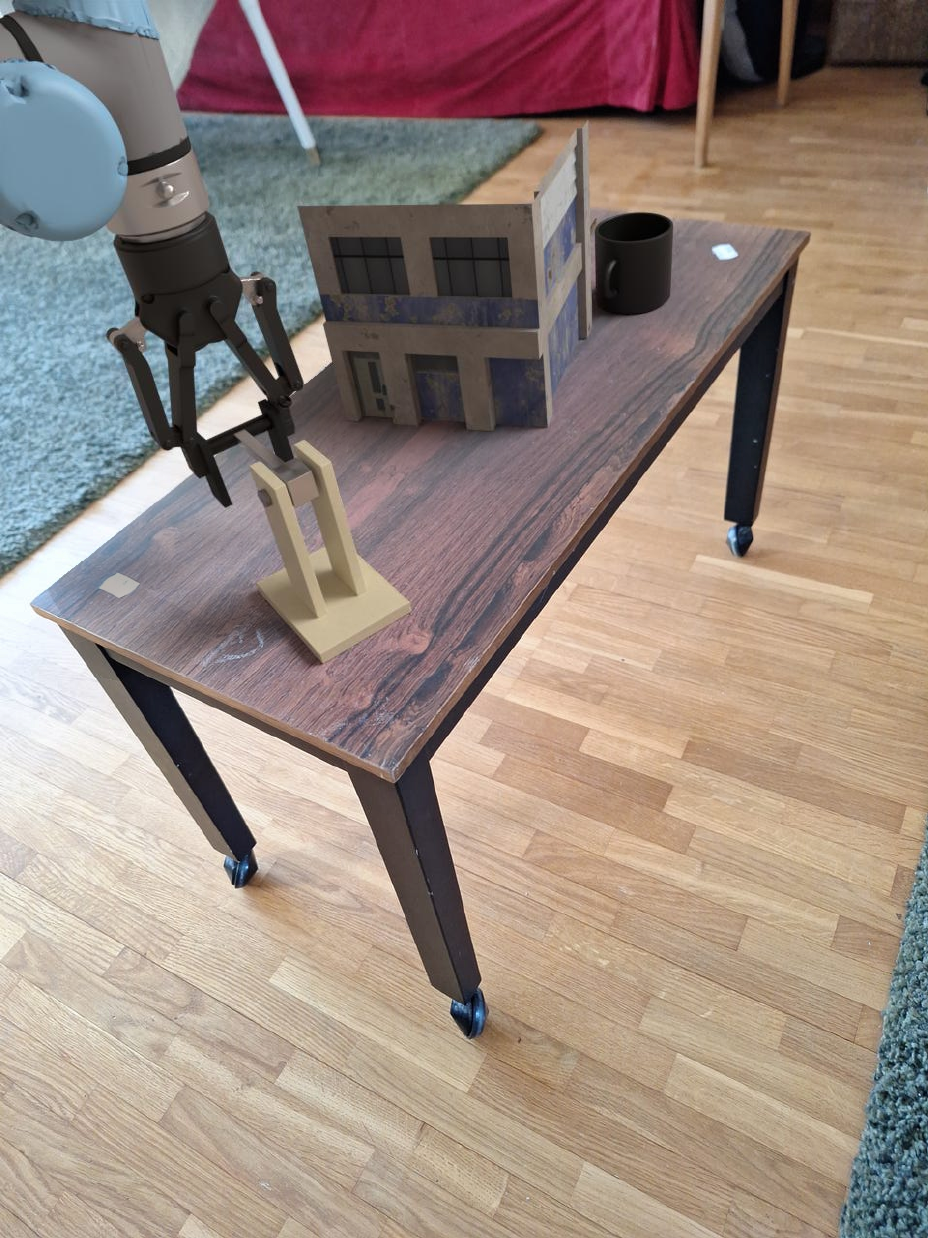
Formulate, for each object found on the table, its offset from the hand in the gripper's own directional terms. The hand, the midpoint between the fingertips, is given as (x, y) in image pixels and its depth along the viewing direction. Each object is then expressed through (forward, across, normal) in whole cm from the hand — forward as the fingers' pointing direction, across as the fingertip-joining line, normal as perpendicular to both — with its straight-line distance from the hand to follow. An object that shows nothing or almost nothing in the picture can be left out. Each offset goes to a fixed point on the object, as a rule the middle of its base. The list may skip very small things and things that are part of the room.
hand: (255, 482), depth 78 cm
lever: (-4, 0, -6) cm, 7 cm away
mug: (+8, +57, +11) cm, 59 cm away
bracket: (+7, 0, -11) cm, 13 cm away
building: (+8, +33, +12) cm, 36 cm away
